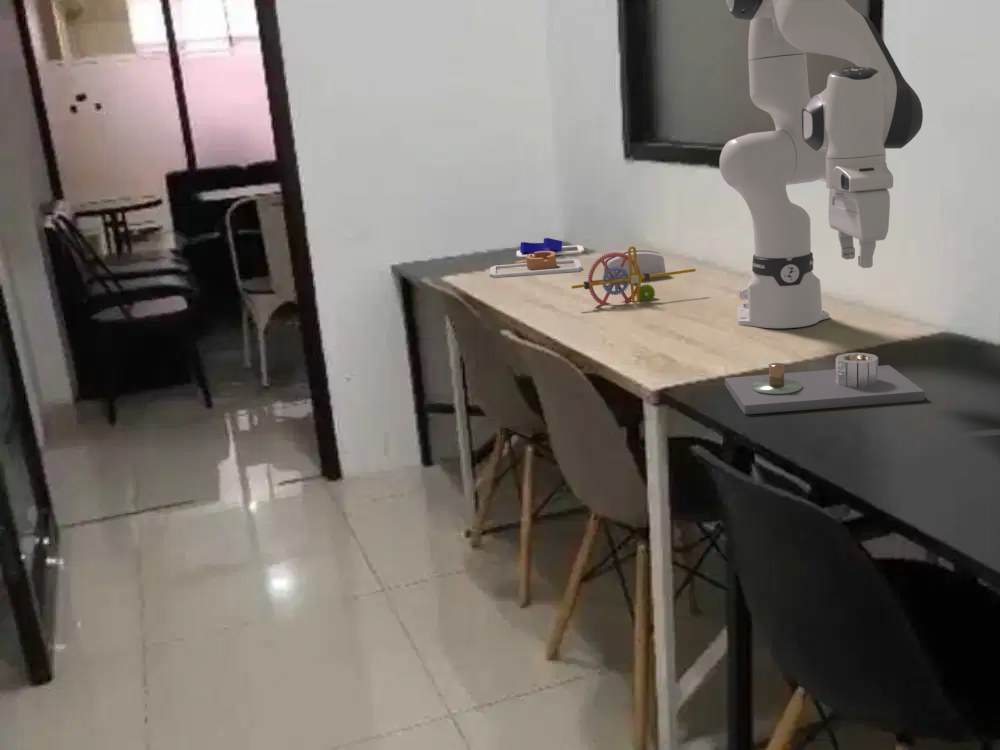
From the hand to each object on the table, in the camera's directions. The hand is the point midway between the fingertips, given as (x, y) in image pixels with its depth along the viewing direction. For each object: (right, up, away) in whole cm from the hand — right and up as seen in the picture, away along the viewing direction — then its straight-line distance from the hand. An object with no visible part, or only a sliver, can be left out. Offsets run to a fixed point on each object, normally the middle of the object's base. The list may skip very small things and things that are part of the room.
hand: (856, 262), depth 167 cm
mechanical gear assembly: (-25, -3, +80) cm, 84 cm away
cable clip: (-42, +20, +150) cm, 157 cm away
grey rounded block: (-22, +5, +106) cm, 108 cm away
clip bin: (-41, +16, +151) cm, 158 cm away
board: (-4, -21, +6) cm, 22 cm away
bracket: (-47, +10, +133) cm, 141 cm away
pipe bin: (-47, +8, +126) cm, 134 cm away
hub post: (-11, -20, +5) cm, 24 cm away
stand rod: (+2, -19, +5) cm, 20 cm away
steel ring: (+2, -19, +5) cm, 20 cm away
